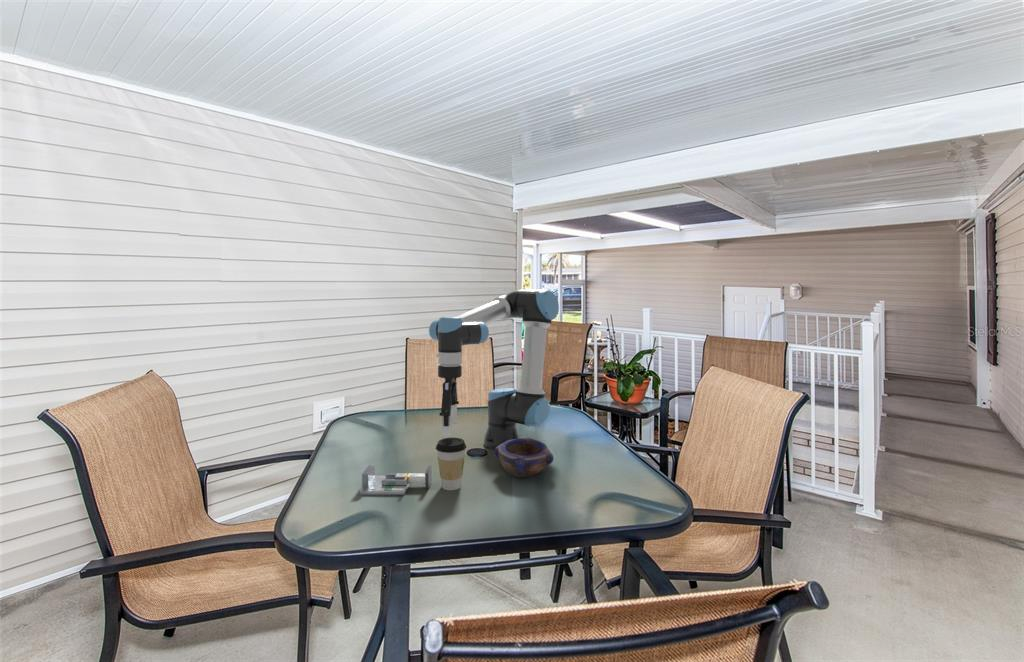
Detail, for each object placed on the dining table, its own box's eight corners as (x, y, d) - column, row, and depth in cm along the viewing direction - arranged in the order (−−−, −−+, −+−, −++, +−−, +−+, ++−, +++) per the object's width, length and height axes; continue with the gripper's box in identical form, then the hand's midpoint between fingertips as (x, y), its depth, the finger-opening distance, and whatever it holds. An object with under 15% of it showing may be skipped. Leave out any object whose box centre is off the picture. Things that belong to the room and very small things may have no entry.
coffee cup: (471, 482, 153) (471, 438, 152) (458, 494, 144) (458, 448, 143) (445, 478, 156) (444, 435, 155) (430, 490, 147) (430, 444, 146)
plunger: (431, 480, 153) (431, 465, 153) (427, 490, 145) (427, 475, 145) (398, 480, 153) (398, 466, 153) (392, 491, 145) (392, 475, 145)
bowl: (513, 487, 149) (513, 457, 148) (489, 468, 165) (489, 441, 164) (559, 477, 158) (559, 449, 157) (532, 460, 173) (533, 434, 173)
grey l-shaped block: (412, 478, 156) (412, 462, 156) (404, 494, 144) (404, 477, 144) (371, 479, 156) (370, 463, 155) (359, 494, 144) (359, 477, 143)
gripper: (444, 359, 160) (443, 419, 162) (431, 370, 135) (431, 441, 137) (465, 359, 160) (465, 419, 161) (456, 371, 135) (456, 441, 137)
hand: (449, 429), depth 149 cm, fingers open, 13 cm apart
